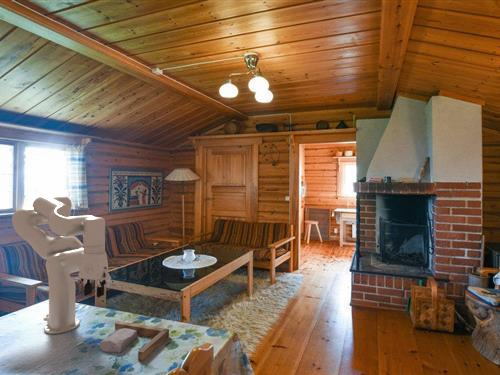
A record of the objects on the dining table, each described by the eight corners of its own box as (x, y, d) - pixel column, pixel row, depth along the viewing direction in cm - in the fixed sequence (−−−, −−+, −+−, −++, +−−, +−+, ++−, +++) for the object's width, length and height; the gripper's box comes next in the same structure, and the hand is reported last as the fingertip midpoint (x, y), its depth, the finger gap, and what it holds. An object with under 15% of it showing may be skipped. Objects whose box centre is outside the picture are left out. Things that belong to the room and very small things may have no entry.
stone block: (97, 355, 110) (121, 353, 108) (95, 342, 110) (119, 340, 109) (117, 340, 122) (139, 338, 120) (115, 328, 122) (137, 325, 120)
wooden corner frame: (86, 349, 111) (86, 341, 110) (118, 328, 127) (118, 321, 127) (143, 360, 104) (143, 352, 104) (168, 336, 120) (169, 329, 120)
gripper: (68, 249, 116) (68, 296, 116) (105, 252, 111) (105, 301, 112) (84, 245, 123) (84, 289, 124) (119, 248, 119) (119, 294, 119)
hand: (94, 294), depth 118 cm, fingers open, 5 cm apart
